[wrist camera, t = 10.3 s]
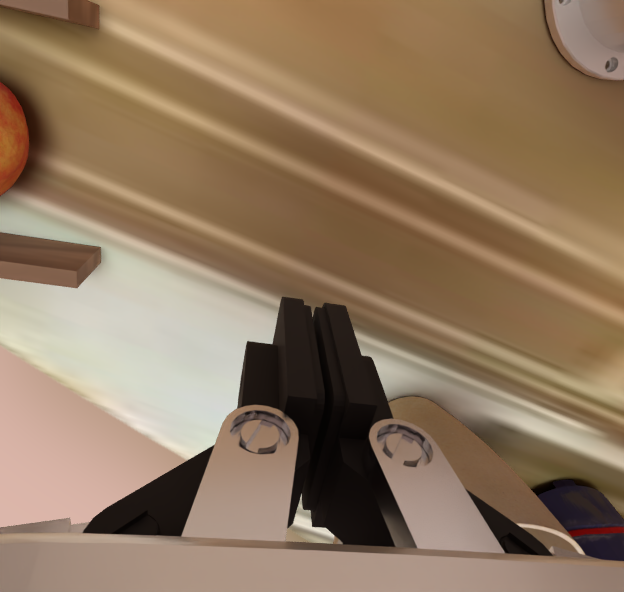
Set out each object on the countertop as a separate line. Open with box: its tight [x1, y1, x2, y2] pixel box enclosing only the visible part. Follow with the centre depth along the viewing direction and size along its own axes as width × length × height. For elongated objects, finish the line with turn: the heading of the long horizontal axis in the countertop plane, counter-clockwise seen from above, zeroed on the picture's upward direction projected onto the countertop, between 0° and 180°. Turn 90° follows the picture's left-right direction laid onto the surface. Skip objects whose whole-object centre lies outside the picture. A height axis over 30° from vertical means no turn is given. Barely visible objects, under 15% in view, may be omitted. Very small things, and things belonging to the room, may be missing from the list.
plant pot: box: [388, 396, 585, 555], centre depth 35 cm, size 15×15×16 cm
